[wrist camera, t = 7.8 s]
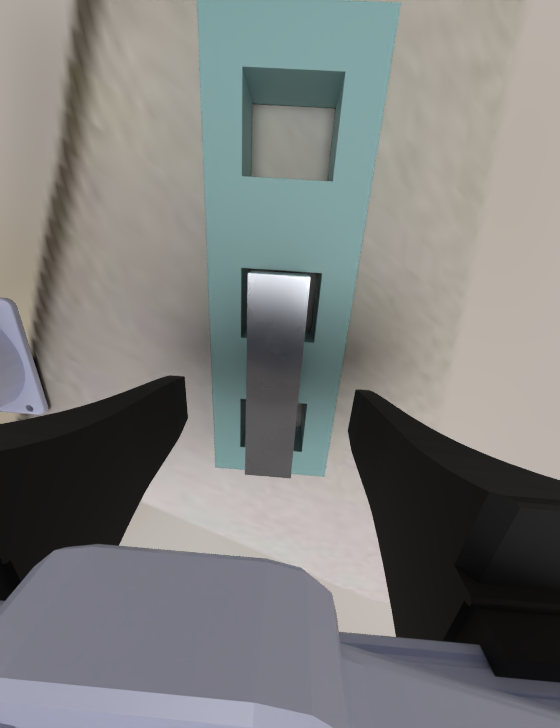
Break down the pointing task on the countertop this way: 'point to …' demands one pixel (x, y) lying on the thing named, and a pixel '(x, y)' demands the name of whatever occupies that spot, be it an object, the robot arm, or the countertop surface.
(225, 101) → the teal slotted board
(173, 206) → the countertop surface
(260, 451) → the grey arch block
